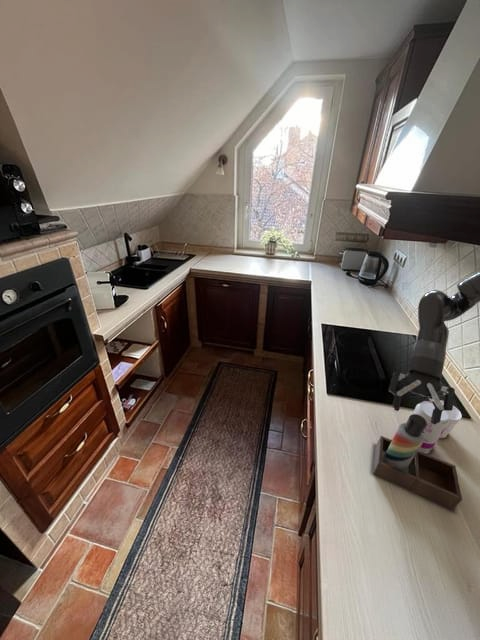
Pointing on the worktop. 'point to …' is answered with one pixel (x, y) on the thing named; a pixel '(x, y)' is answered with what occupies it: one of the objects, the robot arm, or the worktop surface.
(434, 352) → the robot arm
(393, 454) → the lotion bottle
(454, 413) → the white cup
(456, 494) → the caddy
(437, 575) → the worktop surface
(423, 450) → the supplement can
